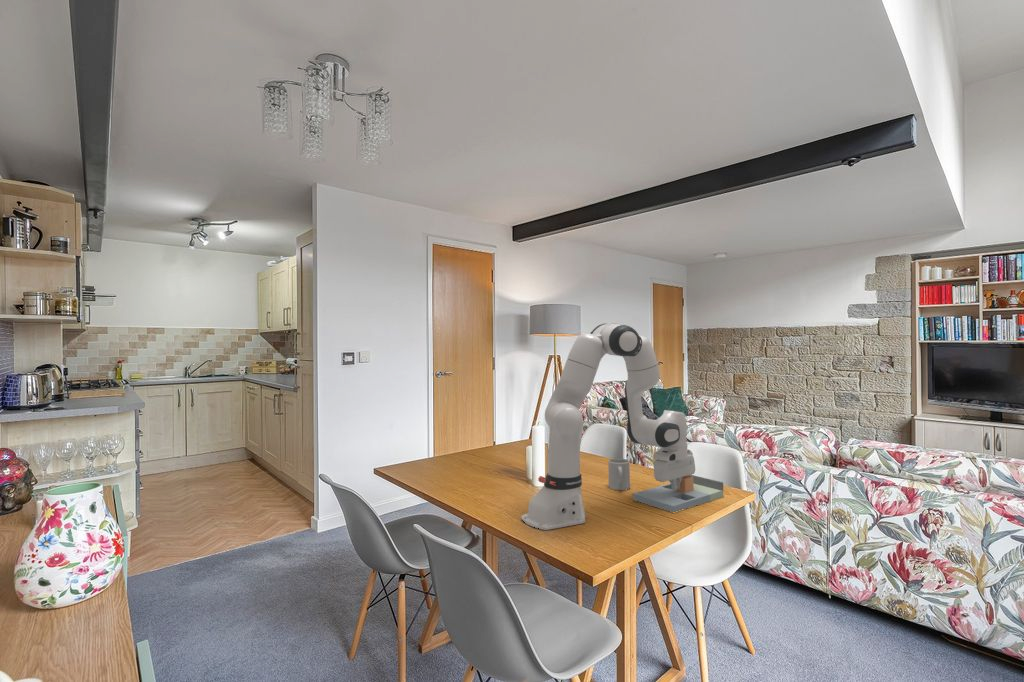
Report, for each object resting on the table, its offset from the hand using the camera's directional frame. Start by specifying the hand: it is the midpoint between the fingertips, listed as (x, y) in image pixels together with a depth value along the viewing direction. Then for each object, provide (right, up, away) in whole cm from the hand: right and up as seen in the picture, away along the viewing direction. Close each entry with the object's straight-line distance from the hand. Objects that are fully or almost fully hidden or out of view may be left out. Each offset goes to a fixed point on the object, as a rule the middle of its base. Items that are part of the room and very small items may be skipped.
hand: (675, 489), depth 179 cm
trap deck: (+1, -4, +1) cm, 4 cm away
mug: (-18, -4, +15) cm, 23 cm away
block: (+4, -1, +3) cm, 5 cm away
